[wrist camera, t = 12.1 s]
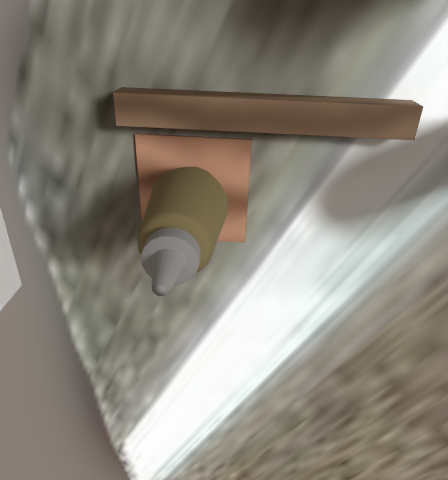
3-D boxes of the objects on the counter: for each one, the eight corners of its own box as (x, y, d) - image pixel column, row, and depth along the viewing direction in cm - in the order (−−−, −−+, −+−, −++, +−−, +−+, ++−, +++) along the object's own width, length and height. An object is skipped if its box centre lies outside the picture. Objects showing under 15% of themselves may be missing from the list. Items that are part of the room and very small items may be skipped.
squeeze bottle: (223, 230, 47) (207, 340, 31) (153, 217, 47) (102, 321, 31) (236, 163, 43) (225, 252, 27) (160, 148, 43) (105, 230, 27)
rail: (122, 87, 40) (112, 92, 37) (411, 100, 39) (423, 106, 36) (134, 234, 48) (128, 247, 46) (374, 248, 47) (381, 262, 44)
